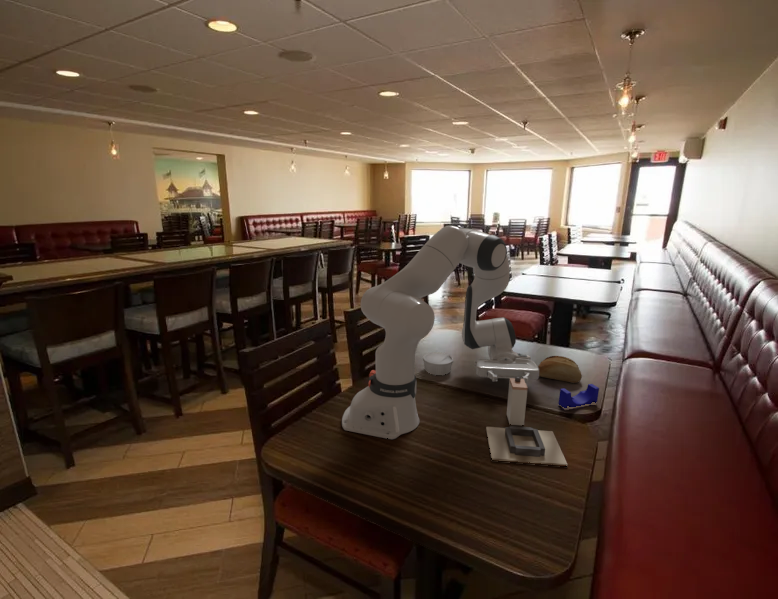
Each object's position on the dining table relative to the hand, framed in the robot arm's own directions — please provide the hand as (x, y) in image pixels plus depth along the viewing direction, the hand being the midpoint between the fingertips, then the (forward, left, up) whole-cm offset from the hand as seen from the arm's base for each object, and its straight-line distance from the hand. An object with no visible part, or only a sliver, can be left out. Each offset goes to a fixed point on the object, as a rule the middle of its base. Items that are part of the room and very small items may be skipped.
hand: (510, 380), depth 128 cm
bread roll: (+20, +18, -7) cm, 28 cm away
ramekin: (-23, +19, -7) cm, 31 cm away
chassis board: (0, -25, -7) cm, 26 cm away
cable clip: (+21, 0, -7) cm, 22 cm away
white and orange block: (0, -12, -7) cm, 14 cm away
